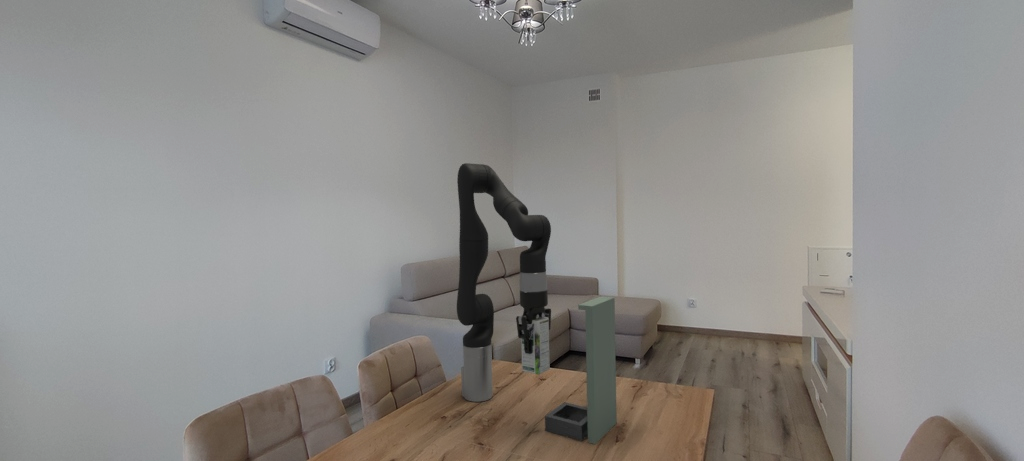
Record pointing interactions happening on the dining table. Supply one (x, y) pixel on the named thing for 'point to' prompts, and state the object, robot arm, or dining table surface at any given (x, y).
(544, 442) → the dining table surface
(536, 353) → the syrup box
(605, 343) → the long narrow green plank
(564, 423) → the socket
